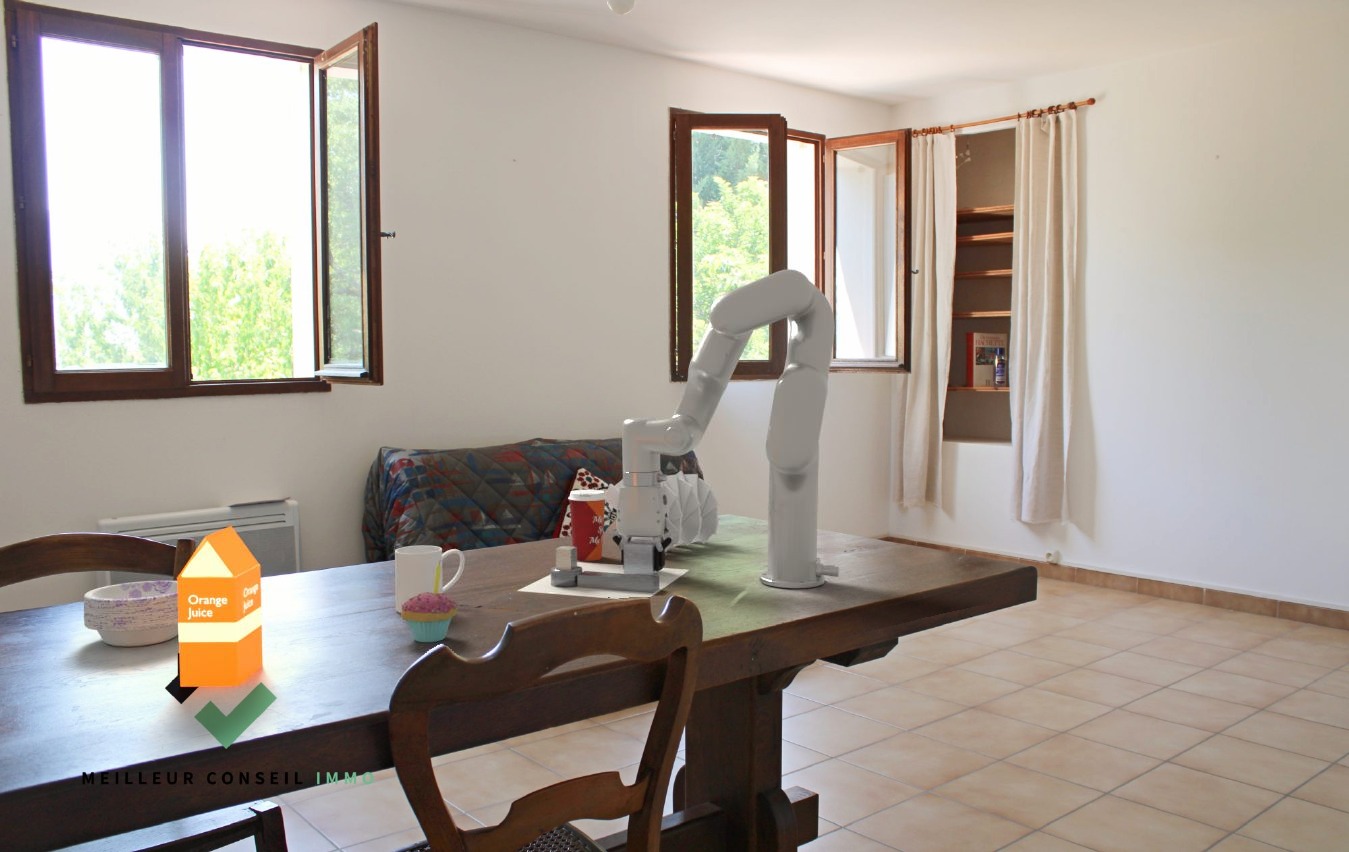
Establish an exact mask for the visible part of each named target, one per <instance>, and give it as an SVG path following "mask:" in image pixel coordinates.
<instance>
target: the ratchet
mask: <svg viewBox="0 0 1349 852" xmlns="http://www.w3.org/2000/svg"><path fill="white" fill-rule="evenodd" d="M577 562H578V560H577V547H573V546H572V545H571V546H570V545H567V546H566V545H561V546H559V547H556V548H555V566H552V567H550V575H551V586H554V587H560V588H571V587H580V588H593V589H606V590H619V591H632V592H645V593H654V592H656V591H657V590H658V589H659V576H650V575H636V574H622V573H608V572H594V571H584V572H582V567H579V566H577Z"/></svg>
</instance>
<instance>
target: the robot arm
mask: <svg viewBox="0 0 1349 852" xmlns="http://www.w3.org/2000/svg"><path fill="white" fill-rule="evenodd" d="M783 319H787V320H788V322H789V326H790V331H789V339H788V342H787V343H788V344H787V350H786V351H787V353H786V357H785V364H784V366H783V367H784V369H783V372H782V374H781V375H780V376H779V378H778V379H777V382H776V385H775V388H774V394H773V400H772V405H771V411H770V417H769V423H768V429H767V435H766V442H765V454H766V457H767V460H768V462H769V464H768V465H769V468H768V469H769V471H768V502H767V503H768V504H767V505H768V508H767V510H768V511H767V512H768V513H767V514H768V515H767V520H768V522H767V524H768V525H767V526H768V527H767V532H768V533H767V571H763V572H762V573H760V574H759V581H760V582H761V583H762V584H764V585H766V586H771V587H776V588H781V589H782V588H784V589H809V588H816V587H819V586H822V585H824V583H825V582H826V581H825V576H828V577H835V578H836V577H837V578H839V577H840V566H835V565H834V564H833V565H832V564H823V563H821V557H818V507H819V506H818V504H819V460H820V443H819V441H820V437H821V436H820V435H821V430H822V425H823V420H824V413H825V409H826V408H825V407H826V403H827V402H826V401H827V397H828V390H829V389H828V388H829V387H828V382H829V373H830V368H831V363H832V362H831V361H832V353H833V346H834V338H835V331H836V330H835V325H836V324H835V317H834V312H833V310H832V306H831V303H830V302H829V300H828V298H827V297H826V295H825V294H824V292H822V291H821V290H820V289H819V287H817V286H816V285H815V284H814V283H812V282H811V281H810V280H809V278H808V277H807V276H806V275H805V274H804V273H803V272H801V271H798V270H796V269H790V268H788V269H782V270H778V271H775V272H774V273H771V274H769V275H767V276H764V277H762V278H759V279H757V280H755V281H752V282H750V283H747V284H745V285H743V286H739V287H737V288H735V289H732V290H729V291H728V292H725V293H723V294H721V295H720V296H718V297H717V298H715V300H714V301H713V302H712V304H711V306H710V308H709V322H708V324H707V326H706V329H705V330H704V332H703V335H702V336H701V339H700V341H699V342H698V345H697V347H696V349H695V351H694V354H693V355H692V357H691V359H690V362H689V366H688V372H687V382H686V386H685V388H684V391H683V394H682V396H681V398H680V401H679V402H678V405H677V407H676V409H675V411H674V413H673V415H672V417H671V418H665V419H656V418H652V417H631V418H627V419H625V420H624V421H622V424H621V440H622V443H621V446H622V447H621V448H622V449H621V450H622V453H621V454H622V455H621V456H622V479H623V486H621V487H620V491H619V496H618V504H617V510H616V518H615V519H614V521H612V523H611V524H610V525H609V526H608V527H607V528H606V529H605V532H606V534H607V535H608V536H609V537H610V538H611V539H612V540H613V542H614V543H615V544H616V545H617V546H618V548H619V550H621V551H620V552H621V553H620V554H621V555H620V556H621V559H620V560H621V565H623V569H624V543H626V542H628V541H630V540H631V539H632V537H653V540H654V543H655V545H656V548H657V551H656V552H655V571H660V570H661V569H663V568H665V566H666V552H665V549H666V548H667V547H668V546H669V545H670V544H671V543H672V542H673V540H674V539H675V538H676V537H678V536H679V535H680V531H679V530H678V529H677V528H676V527H675V526H674V524H673V523H672V522H671V521H670V519H669V509H668V501H667V494H666V490H665V486H661V483H662V482H663V481H667V476H668V475H667V474H664V473H663V472H662V470H661V455H664V456H665V455H666V456H671V457H679V456H680V457H681V456H683V455H686V454H687V453H689V452H691V451H693V450H694V449H696V448H697V447H698V446H699V445H700V443H701V441H702V439H703V437H704V436H705V433H706V431H707V429H708V427H709V425H710V423H711V420H712V419H713V417H714V415H715V413H716V410H717V409H718V406H719V404H720V401H721V399H722V397H723V395H724V393H725V391H726V390H727V387H728V384H729V382H730V380H731V378H732V376H733V373H734V371H735V370H736V368H737V365H738V363H739V361H740V358H741V356H742V354H743V352H744V350H746V349H745V348H746V347H747V345H748V343H749V340H750V339H751V337H752V334H753V332H754V331H755V330H758V329H760V328H763V327H766V326H768V325H771V324H774V323H776V322H778V321H782V320H783ZM669 531H670V535H669V536H668V537H667V538H666V539H664V537H663V534H666V533H668V532H669Z"/></svg>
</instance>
